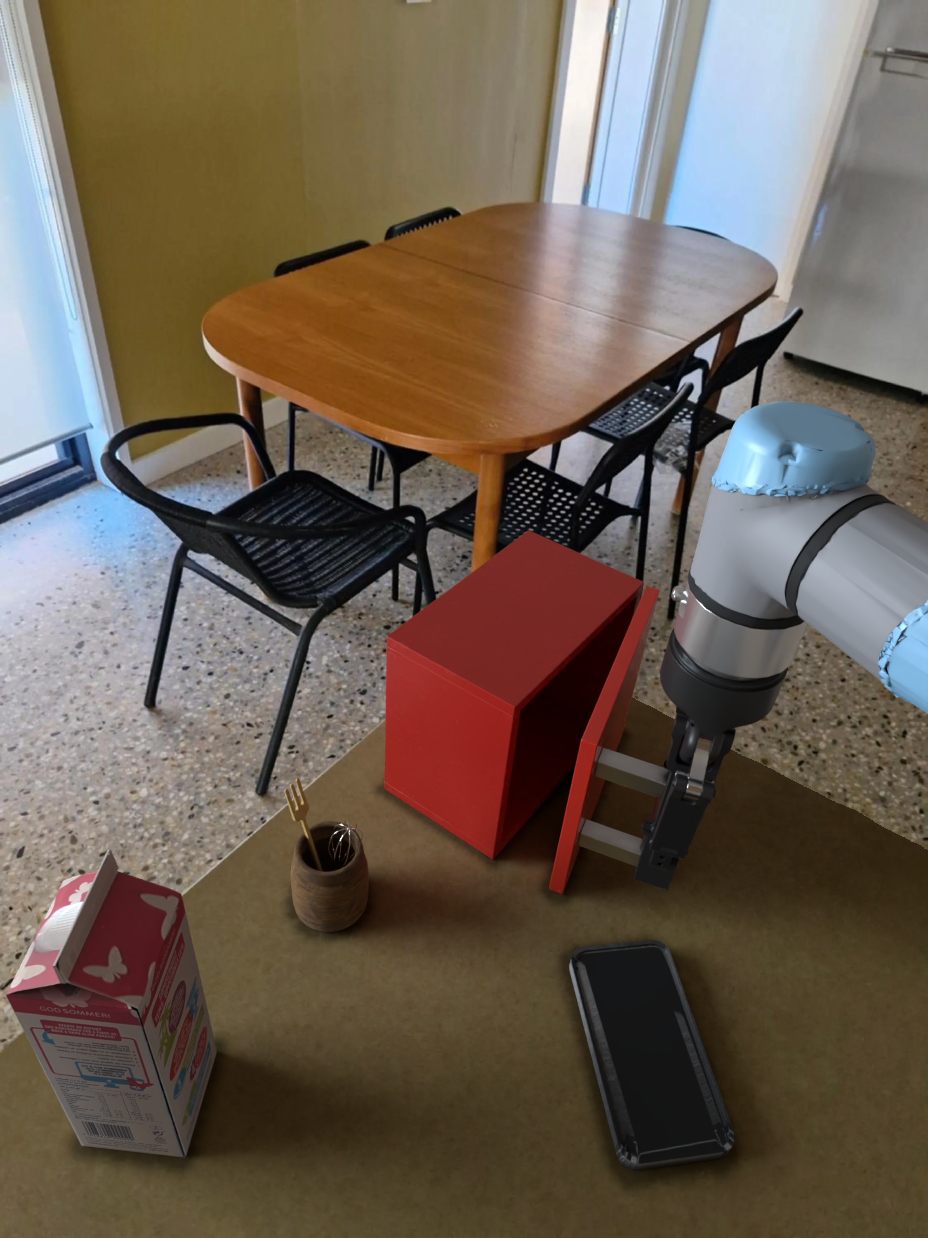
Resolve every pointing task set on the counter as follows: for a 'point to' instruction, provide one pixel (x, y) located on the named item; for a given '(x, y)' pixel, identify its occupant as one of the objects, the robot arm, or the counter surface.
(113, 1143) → the juice carton
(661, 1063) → the phone
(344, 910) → the utensil holder
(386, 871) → the counter surface
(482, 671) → the cabinet
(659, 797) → the red cabinet door
